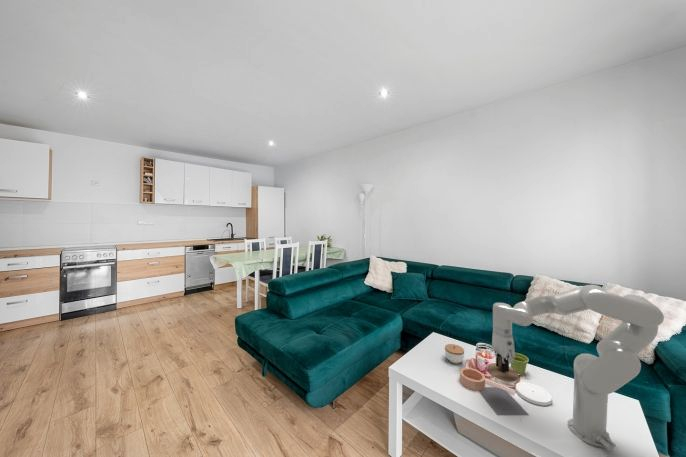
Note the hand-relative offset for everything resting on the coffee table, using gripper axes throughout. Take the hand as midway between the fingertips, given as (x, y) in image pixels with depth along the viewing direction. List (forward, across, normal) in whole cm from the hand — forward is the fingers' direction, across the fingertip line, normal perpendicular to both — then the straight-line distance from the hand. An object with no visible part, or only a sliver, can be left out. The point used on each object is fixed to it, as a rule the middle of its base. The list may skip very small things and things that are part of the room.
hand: (502, 368), depth 116 cm
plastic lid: (+17, +4, -17) cm, 24 cm away
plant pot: (+16, +23, -23) cm, 36 cm away
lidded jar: (+16, +34, +8) cm, 38 cm away
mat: (+16, +1, +1) cm, 16 cm away
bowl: (+16, +13, +8) cm, 21 cm away
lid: (+2, 0, 0) cm, 2 cm away
